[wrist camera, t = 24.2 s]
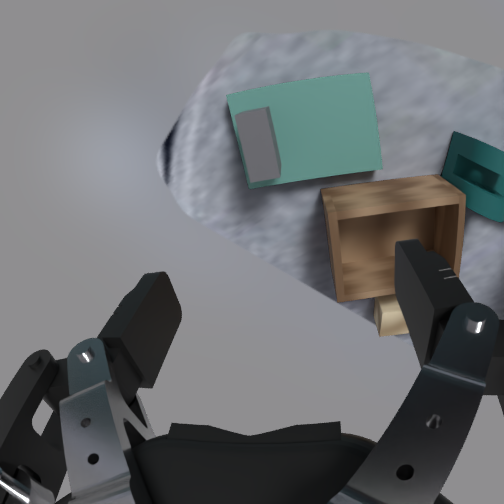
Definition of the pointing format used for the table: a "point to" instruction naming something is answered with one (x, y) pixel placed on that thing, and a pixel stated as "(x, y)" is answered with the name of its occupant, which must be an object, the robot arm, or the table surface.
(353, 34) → the table surface
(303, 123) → the lid
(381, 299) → the pale wooden block
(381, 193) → the open wooden box
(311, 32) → the table surface
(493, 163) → the bracket
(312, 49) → the table surface
